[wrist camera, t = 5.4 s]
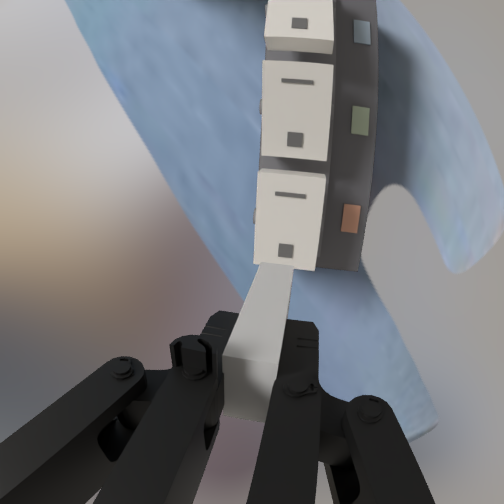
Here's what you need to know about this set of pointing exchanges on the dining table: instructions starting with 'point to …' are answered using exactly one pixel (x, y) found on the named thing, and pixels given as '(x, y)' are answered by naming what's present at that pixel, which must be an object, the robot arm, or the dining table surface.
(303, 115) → the rocker
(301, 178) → the rocker
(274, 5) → the rocker
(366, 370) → the dining table surface
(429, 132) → the dining table surface
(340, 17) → the rocker switch panel
